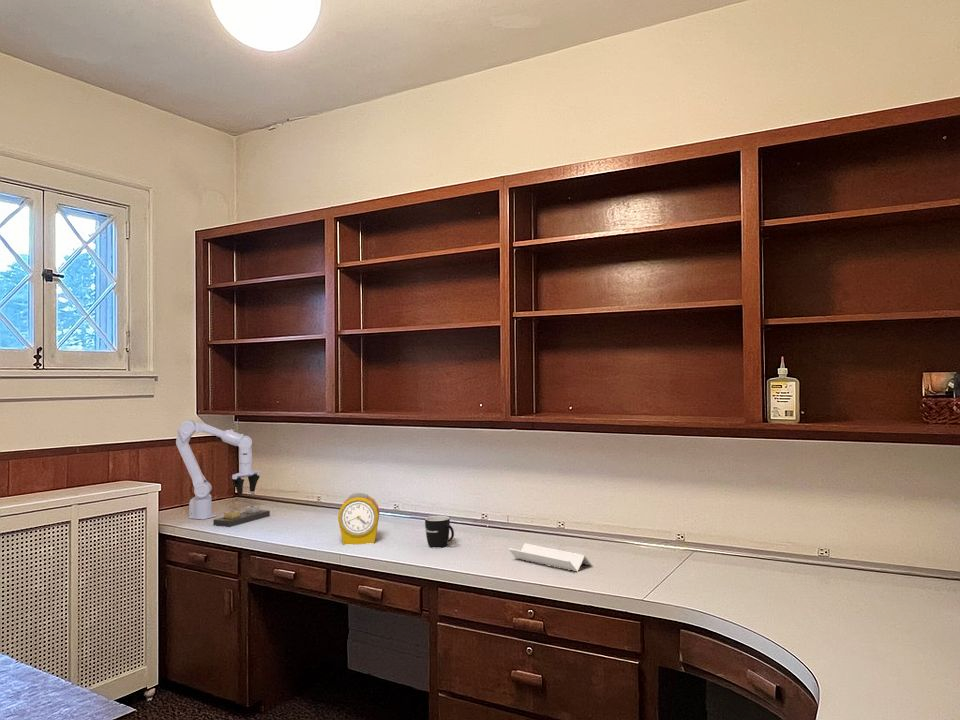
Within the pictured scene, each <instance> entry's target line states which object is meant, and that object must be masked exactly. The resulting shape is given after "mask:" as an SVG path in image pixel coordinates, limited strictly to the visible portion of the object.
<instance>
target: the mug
mask: <svg viewBox="0 0 960 720" xmlns="http://www.w3.org/2000/svg"><path fill="white" fill-rule="evenodd" d="M424 527H425V536H426V540H427V544H428V546H429V548H432V547H442V548H445V547H446V546H447V545H448V543H450V542H452V541H453V539H454V536H455V531H454V528H453V527H452V525H451V523H450V517H449V516H446V515H431V516H430V515H429V516H427V517H426V518H425V519H424ZM450 535H451V536H450ZM449 537H450V538H449Z"/></svg>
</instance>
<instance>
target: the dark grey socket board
mask: <svg viewBox="0 0 960 720" xmlns="http://www.w3.org/2000/svg"><path fill="white" fill-rule="evenodd" d="M267 517H271V510H266V509H260V512H259V513H255V514H246V513H245V511H242V512H240V518H236V519H232V520H231V519H224V516H222V517H218V518H215V519H213V521H212V522H213V523H212V524H213V526H215V525H216V526H217V527H224V526H225V527H226V528H231V527H234V526H238V525H241V524H246V523H249V522H253V521H256V520H261V519H264V518H267ZM216 526H215V527H216ZM225 527H224V528H225Z"/></svg>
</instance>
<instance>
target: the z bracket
mask: <svg viewBox="0 0 960 720" xmlns="http://www.w3.org/2000/svg"><path fill="white" fill-rule="evenodd" d="M507 550H508V551H509V552H510V553H511V555H512V556H514V558H515V559H516V558H517V559H516V560H519V559H522V560H521V561H524V560H527V561H526V562H529V561H531V562H530V563H533V562H536V563H535V564H538V563H541V564H540V565H542V564H545V565H544V566H547V565H550V566H549V567H551V566H555V567H554V568H556V567H560V568H564V569H563V570H565V569H569V570H568V571H570V570H573V571H572V572H574V571H578V570H579V571H580V568H581V566H582V565H583V564H585V565H584V566H587V565H589V567H593V566H594V565H593V564H592V563H591V561H590V560H589V559H588V557H587V556H586V555H585V554H581V553H575V552H570V551H566V550H565V551H564V550H560V549H555V548H552V547H551V548H549V547H544V546H541V545H535V544H530V543H525V542H524V544H523V546H522V548H521V550H520V549H517V548H510V547H508V548H507ZM560 568H559V569H560ZM579 571H578V572H579Z"/></svg>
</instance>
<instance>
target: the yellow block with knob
mask: <svg viewBox="0 0 960 720" xmlns="http://www.w3.org/2000/svg"><path fill="white" fill-rule="evenodd" d="M240 513H241V511H240V510H229V511H224V512H223V517H224V519H231V520H232V519H236V518H240Z"/></svg>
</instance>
